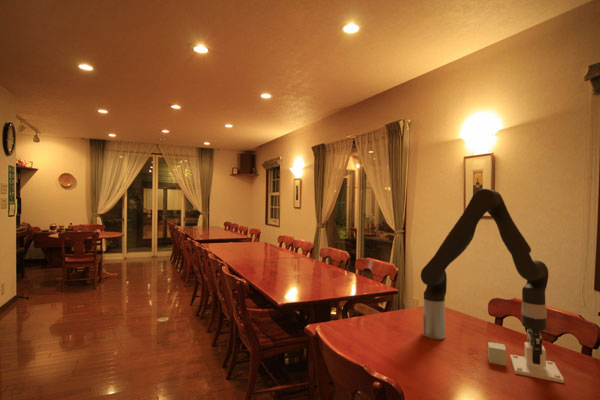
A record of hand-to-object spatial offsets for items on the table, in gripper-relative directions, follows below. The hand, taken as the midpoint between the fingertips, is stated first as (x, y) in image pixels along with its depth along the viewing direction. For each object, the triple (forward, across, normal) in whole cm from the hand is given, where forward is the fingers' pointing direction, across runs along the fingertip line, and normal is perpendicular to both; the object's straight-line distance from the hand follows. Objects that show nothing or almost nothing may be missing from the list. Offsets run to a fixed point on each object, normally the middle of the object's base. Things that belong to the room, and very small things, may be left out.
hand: (534, 360), depth 119 cm
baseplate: (+3, 0, 0) cm, 3 cm away
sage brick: (+3, -1, -12) cm, 13 cm away
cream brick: (+1, 0, 0) cm, 1 cm away
